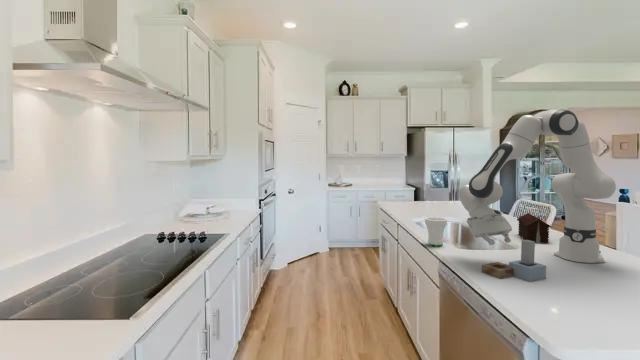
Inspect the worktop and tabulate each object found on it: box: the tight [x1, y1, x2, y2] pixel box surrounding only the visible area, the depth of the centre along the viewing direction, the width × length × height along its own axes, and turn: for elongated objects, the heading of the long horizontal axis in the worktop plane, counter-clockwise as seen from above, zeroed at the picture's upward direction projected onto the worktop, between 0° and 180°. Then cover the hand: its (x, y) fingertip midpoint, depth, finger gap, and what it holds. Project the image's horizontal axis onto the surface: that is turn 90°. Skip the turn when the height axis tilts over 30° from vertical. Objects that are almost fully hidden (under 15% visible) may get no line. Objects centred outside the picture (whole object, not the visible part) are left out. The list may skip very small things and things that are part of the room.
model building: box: [516, 212, 552, 244], centre depth 201 cm, size 21×12×15 cm, turn 164°
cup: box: [424, 216, 448, 248], centre depth 189 cm, size 11×11×14 cm
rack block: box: [508, 259, 547, 282], centre depth 140 cm, size 9×9×5 cm
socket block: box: [481, 261, 515, 280], centre depth 143 cm, size 9×9×3 cm
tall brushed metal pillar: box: [520, 239, 536, 266], centre depth 140 cm, size 3×3×14 cm
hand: (500, 243), depth 151 cm, fingers open, 8 cm apart
